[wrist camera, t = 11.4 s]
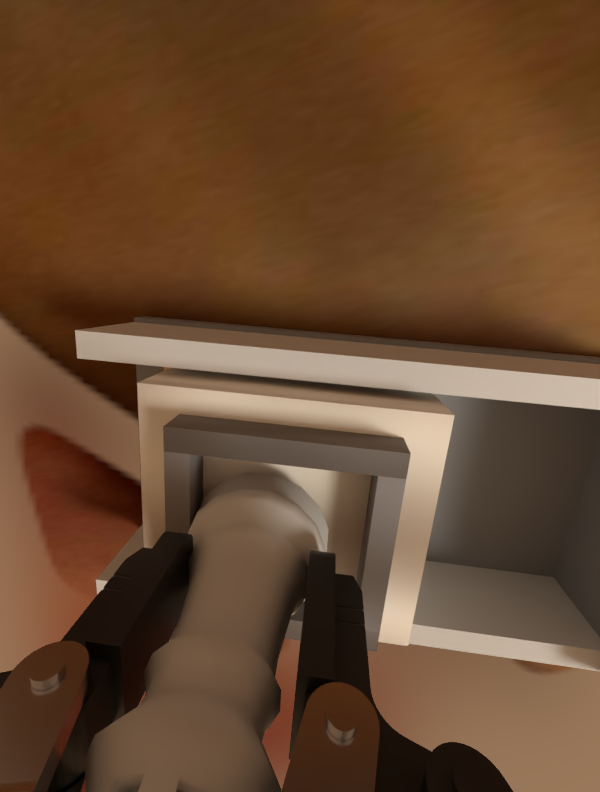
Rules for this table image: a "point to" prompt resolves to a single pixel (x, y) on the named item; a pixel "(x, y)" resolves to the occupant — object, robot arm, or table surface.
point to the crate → (306, 470)
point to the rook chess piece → (219, 649)
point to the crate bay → (448, 470)
